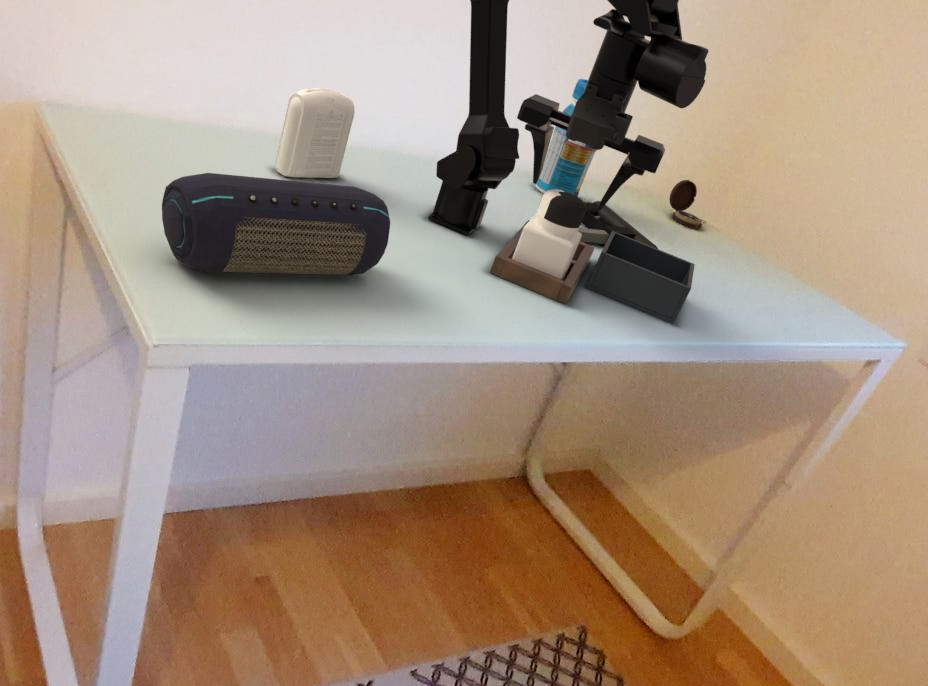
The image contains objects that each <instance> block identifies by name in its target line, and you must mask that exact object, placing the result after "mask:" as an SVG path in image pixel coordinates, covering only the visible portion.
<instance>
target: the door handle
mask: <svg viewBox="0 0 928 686" xmlns="http://www.w3.org/2000/svg"><path fill="white" fill-rule="evenodd" d="M583 202H584V203H585V204H586V207H587V210H586V212H585V215H584V217H583V220H582V222H581V225H583V226H584V227H585V228H583V227H579V230H578V232H580V233H581V234H582V237H581V239H580V241H581V242H583V243H590V244H592V243H593V244H600V245H602V246H603V247H604V246H605V244H606V242H607V240H608V238H609V236H610V234H611V232H612V231H614V232H617V233H619V234H622V235H624V236H627V237H629V238H632V239H634V240H637V241H639V242H641V243H644V244H646V245H649V246H651V247H654V248H656V249H659V247H658V246H657V245H656V244H654V242H652V241H651V239H649V238H648V237H646V236H645V235H644V234H642V233H641V232H640V231H639V230H637V228H635V227H634V226H633V225H631V224H630V223H629V222H628V221H626V220H625V219H624V218H623V217H621V216H620V215H619V214H617V212H615V211H614V210H613V209H612V208H610V206H608V205H606V204H605V205H604V207H603V208H602V209H601V210H598V207H599V205H600V202H601V200H596V201H593V202H589V201H583Z"/></svg>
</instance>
